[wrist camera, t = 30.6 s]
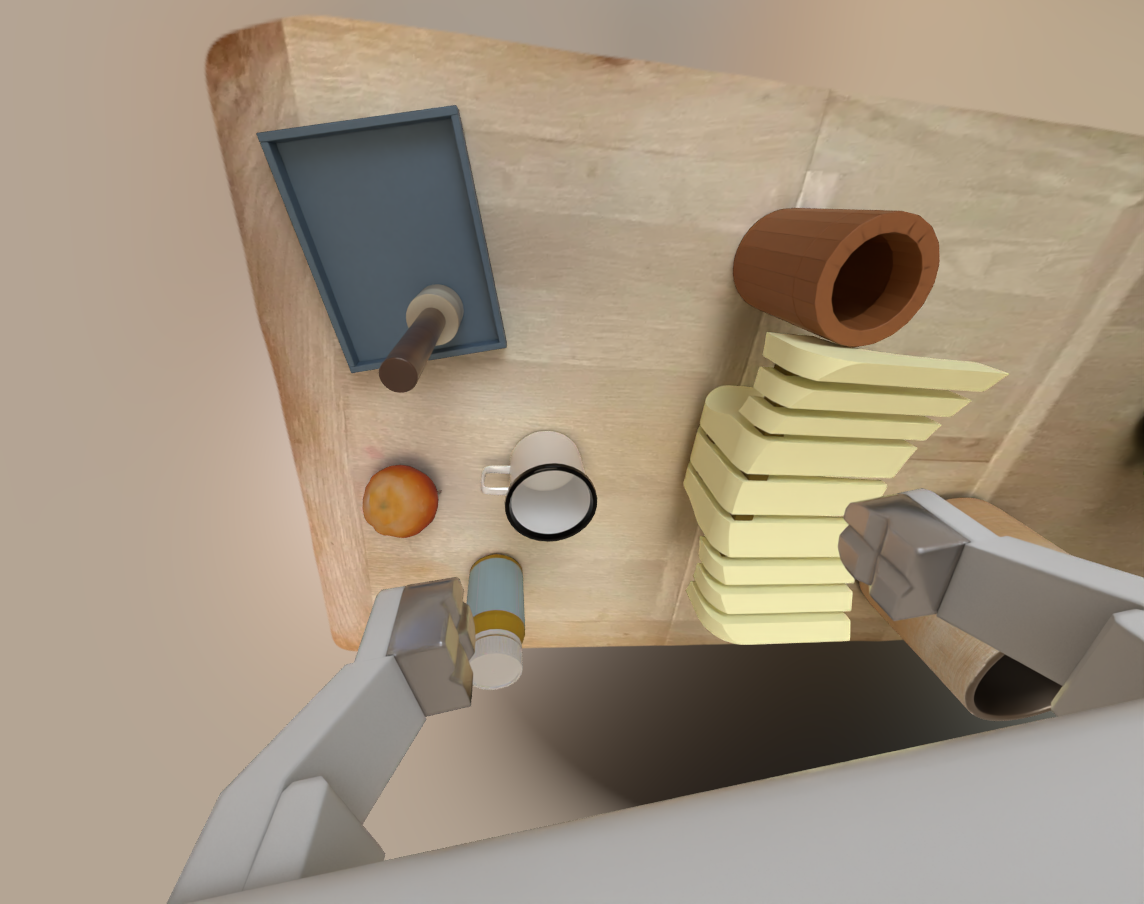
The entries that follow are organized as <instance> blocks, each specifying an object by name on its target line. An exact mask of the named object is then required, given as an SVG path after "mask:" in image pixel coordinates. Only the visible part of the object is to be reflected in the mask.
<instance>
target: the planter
mask: <svg viewBox="0 0 1144 904" xmlns="http://www.w3.org/2000/svg"><path fill="white" fill-rule="evenodd" d="M946 501H947V502H949V503H950V504H952V505H953V506H954V507H956V508H957V509H959V510H960V511H962V512H963V513H965V514H966V515H968V516H969V517H971V518H972V519H974V520H975V521H977V522H978V523H980V524H981V525H983V526H984V527H986V528H987V529H988V530H990V531H991V532H993V533H994V534H996V535H997V536H999V537H1003V536H1010V537H1013V538H1016V539H1020V540H1023V541H1026V542H1029V543H1032V544H1036V545H1039V546H1042V547H1045V548H1049V549H1052V550H1055V551H1058V552H1062V553H1065V554H1068V553H1067V552H1065V551H1064V550H1062V549H1061V548H1059V547H1057V546H1056V545H1054V544H1053V543H1051V542H1050V541H1048V540H1047V539H1045V538H1044V537H1042V536H1041V535H1039V534H1038V533H1036V532H1035V531H1033V530H1031V529H1030V528H1028V527H1027V526H1025V525H1024V524H1022V523H1021V522H1019V521H1018V520H1016V519H1015V518H1013V517H1011V516H1010V515H1008V514H1007V513H1005V512H1004V511H1002V510H1000V509H999V508H997V507H995V506H994V505H992V504H990V503H988V502H985V501H983V500H980V499H975V498H953V499H947V500H946ZM1068 555H1070V554H1068ZM859 583H860V588H861V591H862V593H863V594H864V596H865V597H866V599H867V600H868V601H869V602H870V604H871V605H872V606H873V607H874V608H875V609H876V610H877V611H878V613H879V614H880V615H881V616H882V617H883V618H884V619H885V620H886V621H887V622H888V623H889V624H890V625H891V627H892V628H893V629H894V630H895V631H896V632H897V633H898V634H899V635H900V636H901V637H902V638H903V639H904V641H905V642H906V643H907V644H908V645H909V646H910V647H911V648H912V649H913V650H914V651H915V652H916V653H917V655H918V656H920V658H921V659H922V660H923V661H924V662H925V663H926V664H927V665H928V666H929V668H930V669H931V670H932V671H933V672H934V673H935V674H936V675H937V676H938V677H939V678H940V680H941V681H942V682H943V683H944V684H945V685H946V686H947V687H948V688H949V689H950V691H951V692H952V693H953V694H954V695H955V696H956V697H957V698H958V699H959V700H960V702H961V703H962V704H963V705H964V706H965V707H966V708H967V709H968V710H969V711H970V712H971V713H972V714H973V715H975V716H977V717H979V718H982V719H986V720H993V721H1007V720H1016V719H1022V718H1027V717H1030V716H1035V715H1038V714H1041V713H1044V712H1048V711H1051V702H1052V701H1053V699H1054V698H1055V696H1056V695H1057V693H1058V692H1059V690H1060V689H1061V688H1062V685H1060V684H1058V683H1056V682H1054V681H1053V680H1051V679H1049V678H1047V677H1045V676H1043V675H1042V674H1040V673H1038V672H1036V671H1034V670H1033V669H1031V668H1029V667H1027V666H1025V665H1024V664H1022V663H1020V662H1018V661H1016V660H1014V659H1013V658H1011V657H1009V656H1007V655H1005V654H1004V653H1002V652H1000V651H998V650H996V649H995V648H993V647H991V646H989V645H987V644H985V643H984V642H982V641H980V640H978V639H976V638H975V637H973V636H971V635H969V634H967V633H966V632H964V631H962V630H960V629H958V628H956V627H955V626H953V625H951V624H949V623H947V622H946V621H944V620H942V619H940V618H938V617H937V616H936V615H937V614H933V615H927V616H922V617H916V618H910V619H904V620H898V621H893V620H892V619H891V618H890V617H889V616H888V615H887V614H886V612H885V611H884V610H883V609H882V608H881V607H880V606H879V605H878V604H877V603H876V602H875V601H874V600H873V598H872V597H871V596H870V595H869V585H867V584H865V583H863V582H861V581H859Z"/></svg>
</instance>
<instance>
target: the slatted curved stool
mask: <svg viewBox="0 0 1144 904" xmlns="http://www.w3.org/2000/svg"><path fill="white" fill-rule="evenodd" d="M762 356H764V357H766V358H767V359H769V360H771V361H772V362H774V363H775V366H774V368H773V367H759V371H758V374H757V377H756V380H755V383H754V386H753V387H746V386H730V385H725V386H720V387H717V388H716V389H714V390H712V391H711V392H710V393H709V394H708V396H707V398H706V401H705V405H704V408H703V412H702V416H701V420H700V426H699V427H698V431H697V434H696V438H695V442H694V446H693V449H692V453H691V457H690V462H689V464H688V468H687V472H686V475H685V479H684V483H683V485H684V488H685V490H686V492H687V494H688V496H689V499H690V501H691V504H692V507H693V510H694V513H695V516H696V520H697V523H698V525H699V526H700V528H701V530H702V531H703V533H704V535H705V536H699V555H698V556H699V557H700V559H701V561H702V563H697V565H696V569H695V572H694V575H693V577H694V579H695V581H691V582H690V584H689V586H688V587H687V589H686V592H687V594H688V597H689V599H690V601H691V603H692V605H693V608H694V610H695V612H696V614H697V616H698V618H699V620H700V622H701V623H702V624H703V625H704V627H705V628H706V629H707V630H708V631H710V632H711V633H712V634H714V635H715V636H717V637H719V638H720V639H723V640H725V641H727V642H730V643H734V644H742V645H744V644H745V645H746V644H747V645H748V644H775V643H802V642H829V641H850V620H849V618H848V617H847V616H846V615H845V613H844V612H843V611H851V605H852V595H853V592H852V591H851V590H850V589H849V587H848V586H847V585H846V584H845V583H854V578H853V577H852V575H851V574H850V573H849V572H848V571H847V570H846V568H845V567H844V565H843V563H842V561H841V559H840V555H839V551H838V541H839V535H840V534H841V533H842V532H843V531H844V529H845V528H846V527H847V526H848V524H847V523H846V521H845V520H844V519H843V517H832V516H844V513H845V509H846V507H847V506H848V505H849V504H850V503H852V502H857V501H862V500H867V499H872V498H877V497H882V495H883V493H884V492H885V490H886V488H887V486H888V485H887V484H885V483H884V482H883V481H881V480H868V479H849V478H836V477H825V476H837V477H872V478H894V476H895V475H896V474H897V472H898V471H899V470H900V468H901V467H902V466H903V464H904V463H905V462H906V461H907V460H908V458H909V457H910V456H911V455H912V454H913V453H914V452H915V451H916V449H917V447H915V446H913V445H912V444H910V443H908V442H907V441H905V440H926V439H927V438H928V437H929V436H930V435H932V434H933V433H934V432H935V431H936V430H937V429H938V428H939V427H940V426H941V424H939V423H937V422H935V421H933V420H931V419H929V418H927V417H925V416H942V417H952V416H953V415H954V414H955V413H957V412H958V411H959V410H960V409H962V408H963V407H964V406H966V405H967V404H968V403H969V402H971V401H972V400H969V399H967V398H965V397H963V396H960V395H958V394H956V393H953V392H951V391H949V390H962V391H977V392H984V391H986V390H987V389H988V388H990V387H991V386H993V385H994V384H996V383H997V382H999V381H1000V380H1001V379H1003V378H1004V377H1006V376H1007V375H1009V373H1006V372H1003V371H1000V370H997V369H994V368H991V367H989V366H986V365H983V364H980V363H977V362H968V361H956V360H945V359H935V358H925V357H916V356H907V355H898V354H890V353H883V352H876V351H870V350H864V349H859V348H854V347H849V346H844V345H839V344H836V343H833V342H829V341H826V340H823V339H820V338H817V337H814V336H806V335H794V334H782V333H770V332H767V333H766V339H765V345H764V350H763V355H762ZM900 386H902V387H900ZM911 387H917V388H911ZM922 388H932V389H922ZM935 389H947V390H935ZM904 414H905V415H904ZM919 415H923V416H919Z"/></svg>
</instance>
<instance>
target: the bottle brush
mask: <svg viewBox="0 0 1144 904" xmlns="http://www.w3.org/2000/svg"><path fill="white" fill-rule="evenodd" d="M463 312H464V309H463V304H462V301H461V299H460V297H459V296H458V294H457V293H456V292H455V291H454V290H452V289H451V288H449V287H447V286H444V285H440V284H435V285H430V286H427V287H426V288H424V289H423V290H422V291H421V292H420V293H419V294H418V295H417V296H416V297H415V298H414V299H413V300H412V301H411V303H410V304H409V306H408V308H407V312H406V322H407V325H408V328H409V329H408V330H407V331H406V333H405V334H404V335H403V337H402V338H401V339H400V340H399V342H398V343H397V344H396V346H395V347H394V348H393V350H392V351H391V352H390V353H389V355H388V356H387V357H386V359H385V360H384V361H383V363H382V364H381V366H380V368H379V377H380V379H381V381H382V383H383V384H384V385H385V386H386V387H387V388H388V389H390V390H392V391H394V392H407V391H410V390H411V389H413V388H414V387H415V385H416V384H417V382H418V380H419V378H420V375H421V373H422V371H423V369H424V367H425V365H426V363H427V361H428V359H429V357H430V355H431V353H432V351H433V349H434V347H435V346H437V345H443V344H446V343H447V342H449V341H450V340H452V339H453V338H454V336H455V335H456V333H457V331H458V328H459V325H460V323H461V320H462V318H463Z"/></svg>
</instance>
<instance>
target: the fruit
mask: <svg viewBox="0 0 1144 904" xmlns="http://www.w3.org/2000/svg"><path fill="white" fill-rule="evenodd" d="M437 493H441V490H440V491H437V489H436V487H435V485H434V483H433V482H432V480H431V479H430V478H429V477H428V476H427V475H426V474H424V473H422V472H421V471H419V470H417V469H415V468H413V467H411V466H406V465H395V466H389V467H387V468H385V469H383V470H381V471H379V472H378V473H376V474H375V475H373V476H372V477H371V479H370V482H369V483H368V485H367V486H366V489H365V493H364V497H363V512H364V517H365V519H366V521H367V522H368V523H369V524H370V525H372V526H373V527H374V529H375V530H376V531H377V532H378V533H380V534H382V535H388V536H394V537H399V538H407V537H411V536H414V535H416V534H418V533H420V532H421V531H422V530H423V529H424V528H425V527H427V526H428V525H429V524H430V523H431V522H432V521H433V519H434V517H435V514H436V511H437V508H438V494H437Z"/></svg>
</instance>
